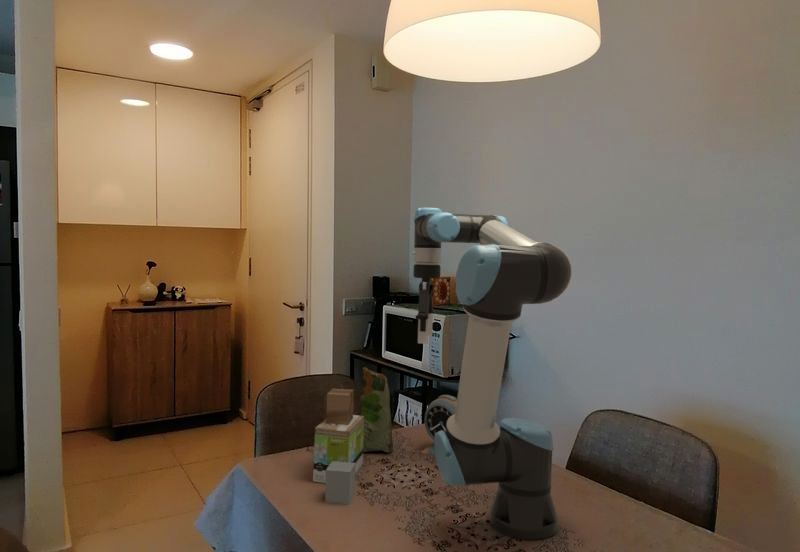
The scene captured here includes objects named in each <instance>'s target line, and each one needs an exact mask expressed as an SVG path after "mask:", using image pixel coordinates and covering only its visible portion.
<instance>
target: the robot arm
mask: <svg viewBox="0 0 800 552" xmlns="http://www.w3.org/2000/svg"><path fill="white" fill-rule="evenodd" d="M413 220H414V221H413V222H414V236H413V237H414V241H413V243H414V244H413V245H414V246H413V247H414V249H413V250H414V251H412V252H411V255H412V256H413V262H415V263H416V264H414V265H413V278H415V279H421V281H420V282H419V285H418V291H419V293H418V309H417V310H418V311H417V312H418V313H417V315H415V320H417V344H424V345H427V344H429V337H433V316H434V315H433V314H436V309H434V294H435V293H434V290H435V284H434V280H433V279H440V278H441V265H440V263H441V261H442V243H456V244H458V243H462V244H476V245H472V246H470V247H469V248H467V250H466V251H465V252H464V253H463V255H462V256H461V258H460V260H459V262H458V265H457V269H456V272H455V273H456V274H455V281H454V282H455V284H456V286H455V294H456V297H457V300H458V301H459V302H460V303H461V304H462V309H463V311H464V312H465V313H466V315H468V320H467V327H466V335H465V341H464V348H463V355H462V362H461V370H460V377H459V383H458V391H457V397H456V398H457V404H456V411H455V414H454V415H452V416H451V417H450V418H449V419H448V420H447V425H446V430H445V431H443V430H441V431H439V432H437V433H436V435H435V439H434V440H433V441H434V447H435V455H436V457H435V460H436V465H437V467H438V472H439V473H440V477H441V478H442V480H443V482H444V483H445V484H447V485H448V486H451V487H461V486H462V487H466V486H471V485H484V484H485V485H486V484H497V483H498V487H497V491H496V493H495V495H494V498H493V501H492V504H491V506H490V510H489V522H490V525H491V526H492V527H493V528H494V529H495V530H496V531H498V532H500V533H501V534H503V535H506V536H509V537H511V538H512V537H513V538H515V539H520V540H521V539H522V540H530V541H532V540H533V541H535V540H544V539H547V538H550V537H552V536H554V535H556V533H557V531H558V529H559V528H558V527H559V526H558V525H559V518H558V514H557V513H558V512H557V510H556V507H555V503H554V499H553V496H552V474H553V472H552V470H553V468H552V466H553V451H554V444H553V443H554V441H553V433H552V432H551V430H550V429H549V428H548V427H546V426H545V425H543V424H541V423H539V422H536V421H533V420H528V419H524V418H516V417H506V418H503V419H501V420H500V423H499V425H498V424H497V422H496V418H497V417H496V416H497V410H498V406H499V405H498V403H499V397H500V393H501V386H502V381H503V375H504V371H505V370H504V369H505V363H506V358H507V357H506V356H507V351H508V345H509V341H510V340H509V339H510V335H511V334H510V333H511V327H512V323H513V322H514V323H515V322H516V321H517V320H519V319H520V317H521V315H522V309H523V305H539V304H544V303H549V302H551V301H553V300H555V299H557V298H559V297H560V296H561V295H562V294H563V293H564V292H565V291H566V289H567V288H568V286H569V284H570V282H571V277H572V266H571V262H570V260H569V258H568V256H567V255H566V254H565V253H564V252H563V251H562V250H561V249H560V248H558V247H556V246H555V245H552V244H551V243H548V242H544V241H540V242H537V241H535V240H533V239H532V238H530V237H528V236H526V235H525V234H523V233H521V232H519V231H517V230H515V229H514V228H512V227H510V225H509V222H508V219H507V218H506V217H505V216H502V215H495V214H490V215H486V214H485V215H484V214H466V213H465V214H464V213H463V214H461V213H450V212H447V211H445V212H444V211H442V209H440V208H439V207H419V208H417V209H416V210H415V214H414V219H413Z"/></svg>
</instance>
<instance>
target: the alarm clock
mask: <svg viewBox="0 0 800 552" xmlns="http://www.w3.org/2000/svg"><path fill="white" fill-rule="evenodd" d="M456 404H457V397H455V396H452V395H449V394H442V395H440V396H438V398H436V399H435V400H433V401H431V403H430V404H429V405H428V406H427V408H426V411H425V412H424V417H423V419H424V420H423V421H424V427H425V430H426V432H427V434H428V435H429V437H430V438H431V439H432V440H433V441H434V439H435V435H436V433H437V432H439V431H441V430H443V431H445V430H446V425H447V420H448V419H449V418H450V417H451V416H452V415H454V414H455V411H456ZM420 453H422V454H425V455H429V456H431V457H435V458H436V455H435V447H434V443H432V444H431V445H430V446H427V447H426V448H424V449H423V450H421V451H420Z"/></svg>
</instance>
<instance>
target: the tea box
mask: <svg viewBox="0 0 800 552" xmlns="http://www.w3.org/2000/svg"><path fill="white" fill-rule="evenodd" d="M326 419H327V417H326V418H325V419H324V420H323V421H321V422H320V423H319V424H318V425H317V426H315V428H314V445H313V446H314V447H313V448H314V449H313V469H312V470H313V471H312V474H313V475H312V482H315V483H320V484H326V469H327V468H328V466H329V465H330V463H331V462H332V461H337V462H350V463H355V475H356V474H357V473H358V472H359V470H360V469H361V468H362V467H363V462H364V461H363V459H364V458H363V457H364V452H363V438H364V416H361V415H356V414H353V419H352V420H351V422H350V423H349V425H343V424H327V423H326Z"/></svg>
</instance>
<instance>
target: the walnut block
mask: <svg viewBox="0 0 800 552" xmlns="http://www.w3.org/2000/svg"><path fill="white" fill-rule="evenodd" d="M354 390H355V389H349V388H348V389H346V388H345V389H344V388H342V389H341V388H331V389H330V391H328V392H327V393H326V418H327V419H326V418H325V419H326V423H327V424H343V425H349V423H350V422H351V420H352V419H353V415H354Z"/></svg>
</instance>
